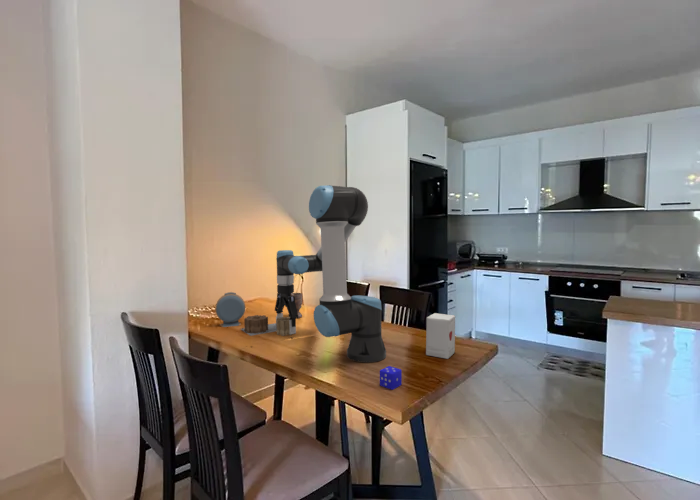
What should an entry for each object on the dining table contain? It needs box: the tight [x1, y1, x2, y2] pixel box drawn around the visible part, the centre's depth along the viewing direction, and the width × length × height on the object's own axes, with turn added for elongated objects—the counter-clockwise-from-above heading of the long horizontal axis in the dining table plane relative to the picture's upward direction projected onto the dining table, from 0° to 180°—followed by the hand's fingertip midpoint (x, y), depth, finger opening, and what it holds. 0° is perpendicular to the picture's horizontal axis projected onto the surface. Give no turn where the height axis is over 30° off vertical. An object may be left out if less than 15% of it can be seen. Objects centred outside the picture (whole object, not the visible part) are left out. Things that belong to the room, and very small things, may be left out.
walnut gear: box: [243, 314, 269, 334], centre depth 178 cm, size 10×10×6 cm
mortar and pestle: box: [288, 292, 304, 319], centre depth 208 cm, size 12×9×20 cm
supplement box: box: [425, 312, 456, 360], centre depth 147 cm, size 9×9×15 cm
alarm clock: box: [215, 291, 246, 328], centre depth 189 cm, size 14×10×18 cm
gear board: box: [240, 315, 277, 337], centre depth 181 cm, size 14×22×6 cm, turn 124°
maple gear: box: [276, 316, 293, 339], centre depth 173 cm, size 9×9×8 cm
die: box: [379, 365, 403, 391], centre depth 119 cm, size 5×5×5 cm
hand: (286, 330), depth 173 cm, fingers open, 13 cm apart
